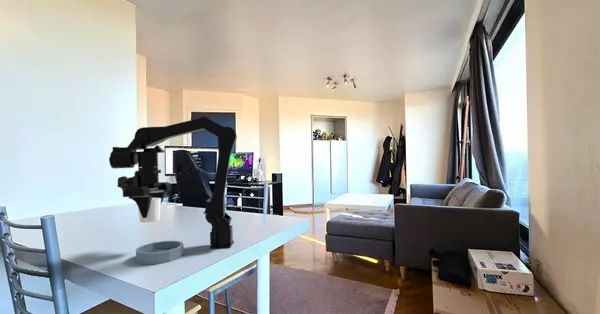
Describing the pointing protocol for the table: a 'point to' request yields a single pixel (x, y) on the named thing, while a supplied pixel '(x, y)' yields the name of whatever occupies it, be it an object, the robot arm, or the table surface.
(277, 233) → the table surface
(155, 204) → the shot glass
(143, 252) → the bowl
